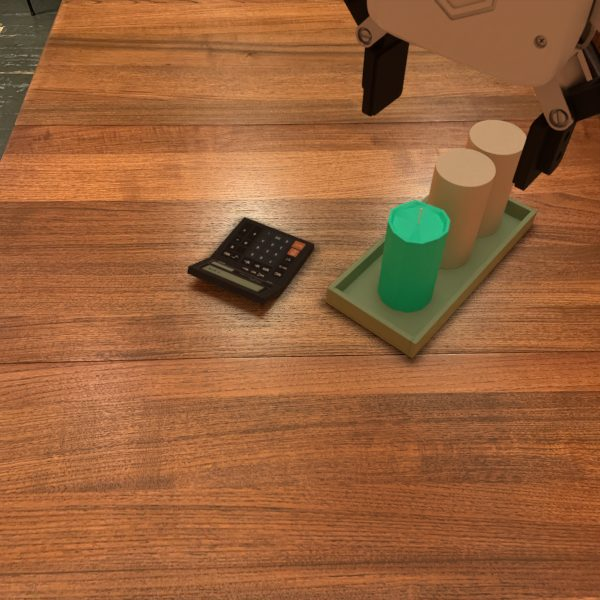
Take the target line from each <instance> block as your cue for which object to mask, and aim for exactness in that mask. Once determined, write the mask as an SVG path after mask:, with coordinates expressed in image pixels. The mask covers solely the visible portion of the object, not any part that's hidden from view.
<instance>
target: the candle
mask: <svg viewBox="0 0 600 600" xmlns="http://www.w3.org/2000/svg"><path fill="white" fill-rule="evenodd" d="M449 225H450V219H449V217H448V216H447V214H446V213H445V211H444V210H442V209H439V208H437V207H434V206H432V205H429V204H426V203H423V202H421V200H418V199H414V200H410V201H406V202H404V203H401V204H399V205H396V206H394V207H393V208H391V209H390V211H389V214H388V218H387V224H386V231H385V234H386V237H385V243H384V250H383V257H382V264H381V270H380V277H379V284H378V293H379V295H380V298H381V300H382V302H384V303H385V304H386V305H388V306H389V307H391V308H392V309H393V310H398V311H403V312H407V313H409V312H413V311H418V310H422V309H423V308H424V307H425V306H426V305H428V304H429V303H430V302H431V299H432V295H433V291H434V287H435V283H436V279H437V275H438V271H439V267H440V263H441V259H442V255H443V251H444V247H445V243H446V239H447V235H448V231H449Z"/></svg>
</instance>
